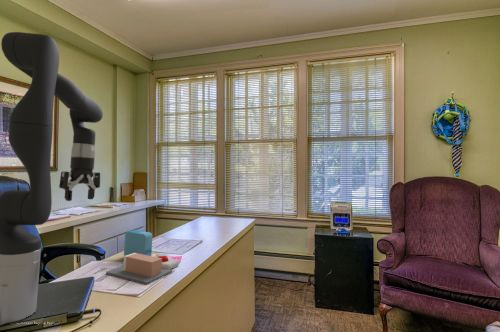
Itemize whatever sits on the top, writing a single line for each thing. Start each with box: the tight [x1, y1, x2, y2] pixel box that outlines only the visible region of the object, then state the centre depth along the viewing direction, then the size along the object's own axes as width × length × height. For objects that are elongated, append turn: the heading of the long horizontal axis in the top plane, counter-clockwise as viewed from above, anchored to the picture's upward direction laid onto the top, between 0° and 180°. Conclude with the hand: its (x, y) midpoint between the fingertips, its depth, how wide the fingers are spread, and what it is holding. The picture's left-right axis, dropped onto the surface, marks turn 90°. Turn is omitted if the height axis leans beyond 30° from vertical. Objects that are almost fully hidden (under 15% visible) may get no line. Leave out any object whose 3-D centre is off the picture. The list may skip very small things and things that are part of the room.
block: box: [122, 253, 162, 277], centre depth 107 cm, size 6×6×14 cm
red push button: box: [156, 255, 180, 270], centre depth 118 cm, size 12×4×10 cm
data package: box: [123, 229, 153, 257], centre depth 125 cm, size 12×4×12 cm, turn 68°
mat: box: [105, 265, 173, 285], centre depth 108 cm, size 14×20×1 cm
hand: (79, 199), depth 102 cm, fingers open, 8 cm apart
